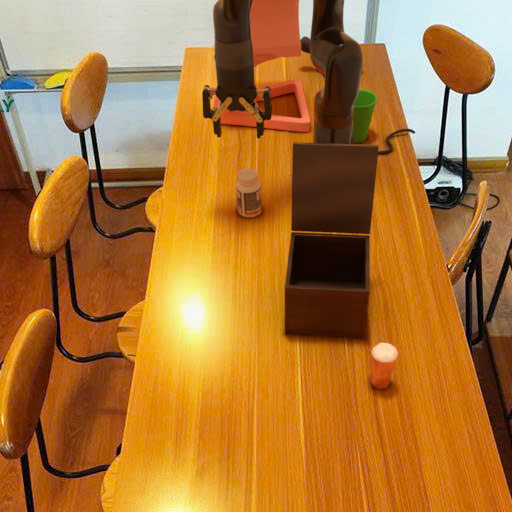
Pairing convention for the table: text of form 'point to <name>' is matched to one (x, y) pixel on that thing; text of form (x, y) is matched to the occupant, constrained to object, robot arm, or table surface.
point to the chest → (327, 285)
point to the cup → (363, 114)
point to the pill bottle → (248, 193)
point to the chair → (271, 47)
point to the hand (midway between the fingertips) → (239, 136)
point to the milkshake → (383, 364)
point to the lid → (333, 187)
